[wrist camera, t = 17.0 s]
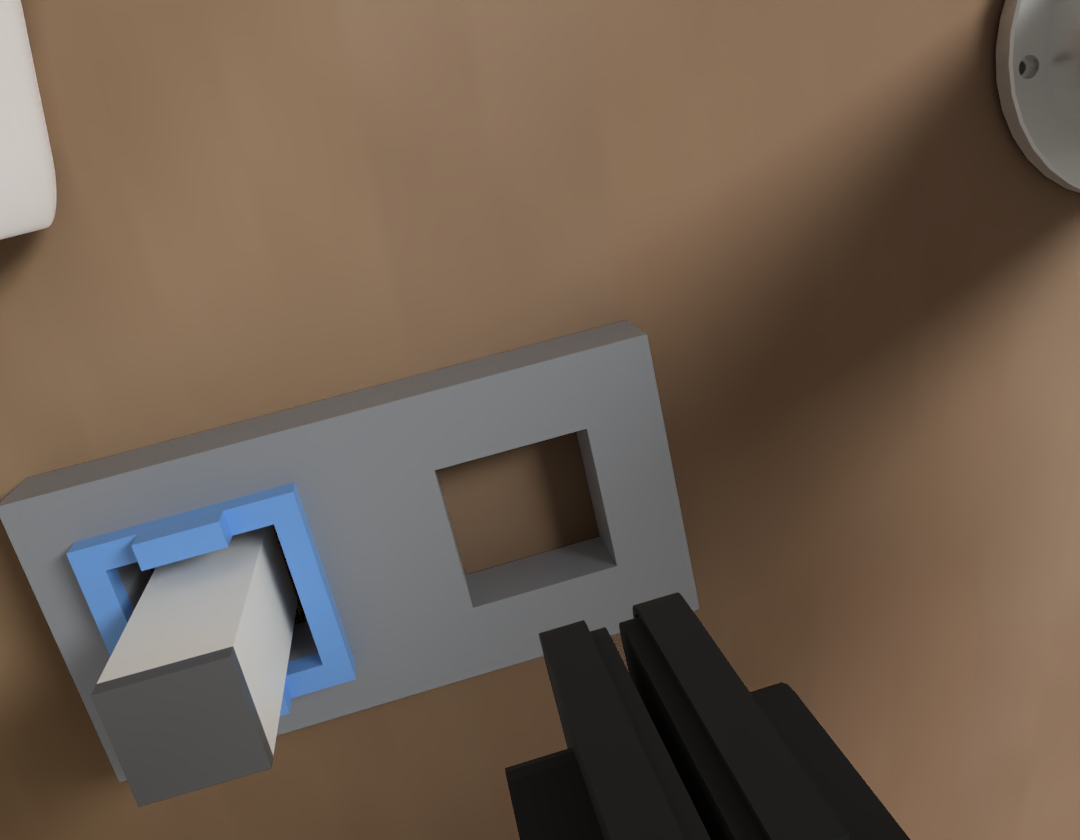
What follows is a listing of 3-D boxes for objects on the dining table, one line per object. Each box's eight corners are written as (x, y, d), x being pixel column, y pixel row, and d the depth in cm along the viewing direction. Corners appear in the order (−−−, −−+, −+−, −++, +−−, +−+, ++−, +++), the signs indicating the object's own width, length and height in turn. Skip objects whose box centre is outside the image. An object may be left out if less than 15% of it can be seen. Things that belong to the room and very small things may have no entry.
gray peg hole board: (626, 320, 37) (663, 344, 33) (677, 577, 41) (716, 633, 36) (25, 478, 35) (-29, 529, 30) (137, 736, 39) (105, 817, 34)
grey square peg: (269, 514, 37) (230, 656, 27) (297, 600, 38) (271, 768, 28) (169, 540, 37) (90, 695, 26) (201, 626, 38) (138, 807, 28)
